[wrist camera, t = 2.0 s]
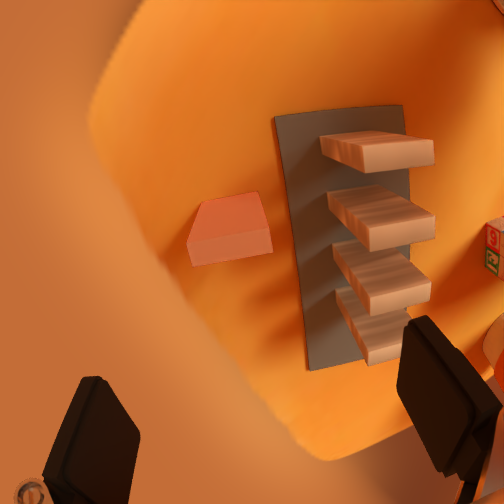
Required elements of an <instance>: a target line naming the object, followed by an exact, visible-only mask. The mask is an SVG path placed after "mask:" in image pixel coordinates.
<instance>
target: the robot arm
mask: <svg viewBox="0 0 504 504" xmlns="http://www.w3.org/2000/svg"><path fill="white" fill-rule="evenodd" d="M493 2H494V3H495V5H496V6H497V7H498V9H499V10H500V11H501V12H502V14H503V15H504V0H493ZM396 387H397V392H398V395H399V397H400V399H401V401H402V403H403V405H404V407H405V408H406V410H407V412H408V414H409V416H410V418H411V420H412V422H413V424H414V426H415V428H416V430H417V432H418V434H419V436H420V438H421V440H422V442H423V444H424V446H425V448H426V450H427V452H428V454H429V456H430V458H431V460H432V462H433V464H434V466H435V468H436V470H437V471H438V472H443V474H444V476H445V478H446V477H448V476H450V475H453V474H455V473H457V474H458V476H459V478H460V480H461V483H460V486H459V489H458V492H457V495H456V498H455V501H454V503H453V504H504V407H503V405H502V404H501V403H500V401H499V400H498V398H497V397H496V396H495V394H493V392H492V390H491V389H490V388H489V386H488V385H487V384H486V383H485V381H484V380H483V379H482V377H481V376H480V375H479V374H478V372H477V371H476V370H475V368H474V367H473V366H472V365H471V363H470V362H469V361H468V360H467V359H466V357H465V356H464V355H463V354H462V352H461V351H460V350H459V349H457V348H455V347H454V346H453V345H452V344H451V342H450V341H449V340H448V339H447V338H446V336H445V335H444V334H443V333H442V332H441V330H440V329H439V328H438V327H437V326H436V325H435V323H434V322H433V321H432V320H431V319H430V318H429V317H428V316H427V315H424V316H421V317H418V318H415V319H411V320H409V322H408V325H407V326H405V327H404V330H403V339H402V348H401V356H400V364H399V371H398V378H397V385H396ZM139 443H140V432H139V430H138V428H137V427H136V425H135V424H134V422H133V421H132V420H131V418H130V416H129V415H128V413H127V412H126V410H125V409H124V407H123V406H122V404H121V403H120V401H119V400H118V398H117V396H116V395H115V393H114V392H113V390H112V388H111V387H110V385H109V384H108V382H107V381H106V380H103V379H102V377H100V376H89V377H83V378H82V379H81V381H80V384H79V386H78V388H77V390H76V393H75V395H74V397H73V399H72V402H71V404H70V406H69V408H68V411H67V413H66V415H65V417H64V420H63V422H62V424H61V427H60V429H59V432H58V434H57V437H56V439H55V442H54V444H53V447H52V449H51V452H50V454H49V457H48V460H47V462H46V465H45V468H44V470H43V473H42V476H43V477H44V480H43V481H41V480H40V479H37V478H29V479H26V480H24V481H22V482H21V483H20V484H19V485H18V487H17V488H16V490H15V493H14V503H15V504H128V501H129V494H130V490H131V484H132V479H133V473H134V468H135V463H136V458H137V453H138V448H139Z"/></svg>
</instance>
